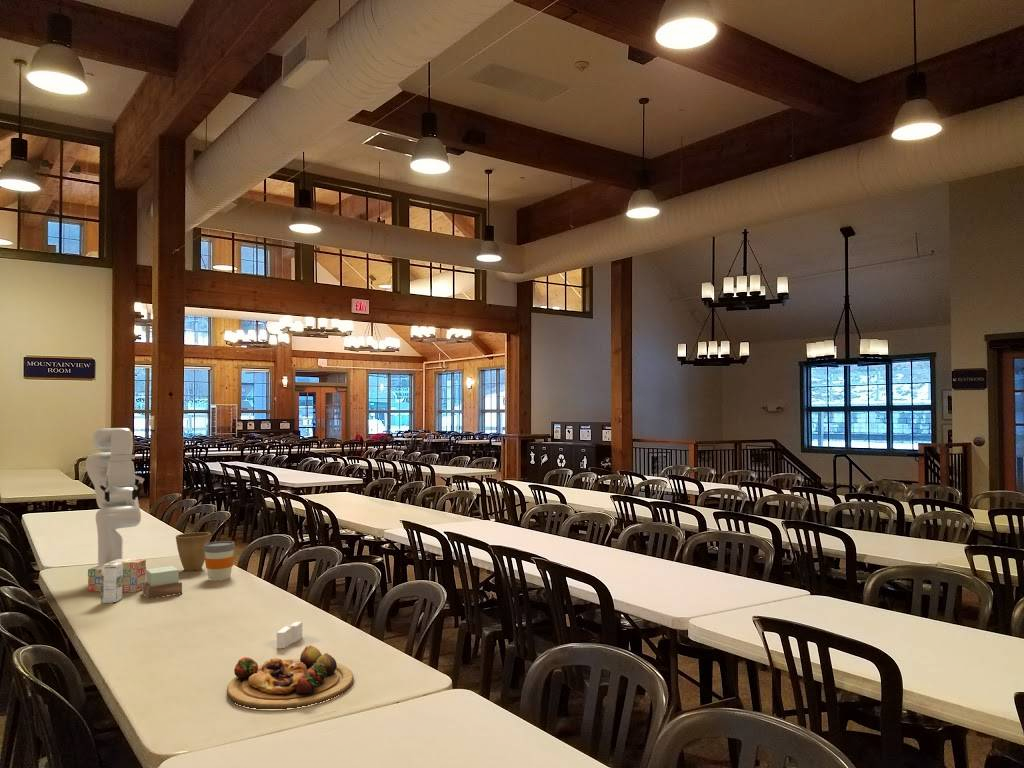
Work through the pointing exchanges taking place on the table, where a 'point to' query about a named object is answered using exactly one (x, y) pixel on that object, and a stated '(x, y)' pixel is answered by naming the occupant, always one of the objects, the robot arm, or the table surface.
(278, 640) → the napkin holder
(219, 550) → the reusable coffee cup
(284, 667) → the wooden plate with food
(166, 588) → the tower base block
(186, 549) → the plant pot
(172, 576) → the tower top block
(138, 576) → the stack of blocks
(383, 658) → the table surface
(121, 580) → the syrup box
